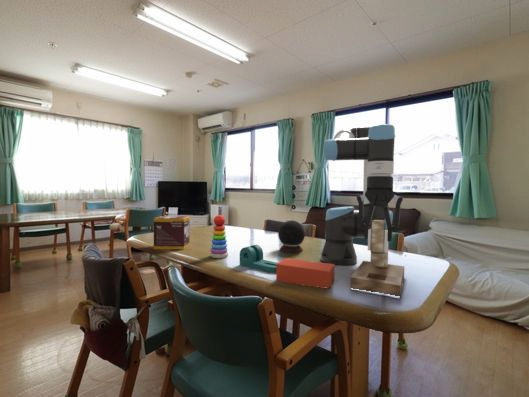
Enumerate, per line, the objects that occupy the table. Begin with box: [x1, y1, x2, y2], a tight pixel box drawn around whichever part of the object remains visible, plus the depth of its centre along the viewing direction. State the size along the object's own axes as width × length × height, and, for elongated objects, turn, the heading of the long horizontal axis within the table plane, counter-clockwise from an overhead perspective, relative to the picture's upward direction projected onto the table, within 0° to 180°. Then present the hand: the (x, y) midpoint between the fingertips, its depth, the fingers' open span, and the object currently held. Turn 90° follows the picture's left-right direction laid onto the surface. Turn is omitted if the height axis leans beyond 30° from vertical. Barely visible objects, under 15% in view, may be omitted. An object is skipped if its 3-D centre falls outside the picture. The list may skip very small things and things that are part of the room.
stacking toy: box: [210, 214, 229, 259], centre depth 125 cm, size 8×8×19 cm
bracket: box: [239, 244, 279, 274], centre depth 109 cm, size 18×7×8 cm, turn 53°
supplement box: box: [153, 215, 191, 250], centre depth 142 cm, size 10×15×16 cm
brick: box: [275, 257, 336, 288], centre depth 95 cm, size 18×9×6 cm, turn 66°
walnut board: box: [349, 241, 405, 297], centre depth 93 cm, size 14×22×14 cm, turn 151°
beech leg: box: [369, 220, 386, 267], centre depth 87 cm, size 4×4×14 cm
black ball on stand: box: [277, 220, 306, 254], centre depth 138 cm, size 13×13×15 cm
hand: (377, 250), depth 87 cm, fingers closed on beech leg, 4 cm apart
